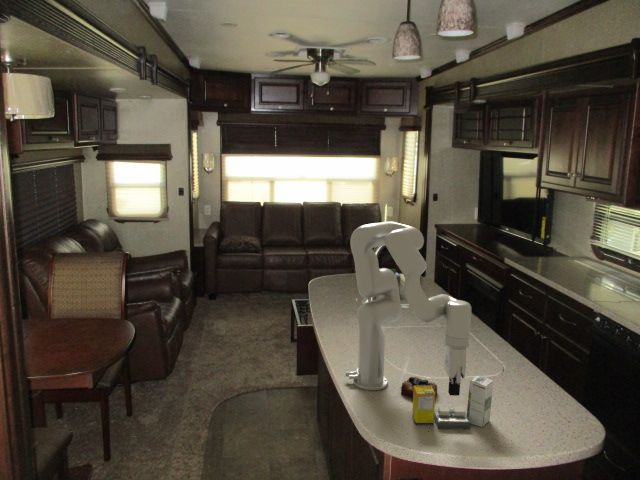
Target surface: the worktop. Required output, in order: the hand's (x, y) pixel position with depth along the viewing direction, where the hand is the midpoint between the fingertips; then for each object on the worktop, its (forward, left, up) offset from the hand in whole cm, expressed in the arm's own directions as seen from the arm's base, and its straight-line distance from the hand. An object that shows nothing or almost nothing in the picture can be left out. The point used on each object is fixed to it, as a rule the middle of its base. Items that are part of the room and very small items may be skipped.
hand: (453, 394), depth 176 cm
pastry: (-7, +20, -11) cm, 23 cm away
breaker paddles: (0, +1, -7) cm, 7 cm away
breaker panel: (0, 0, -10) cm, 10 cm away
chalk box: (-4, +143, -10) cm, 143 cm away
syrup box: (+9, +1, -10) cm, 14 cm away
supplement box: (-9, +1, -10) cm, 14 cm away
